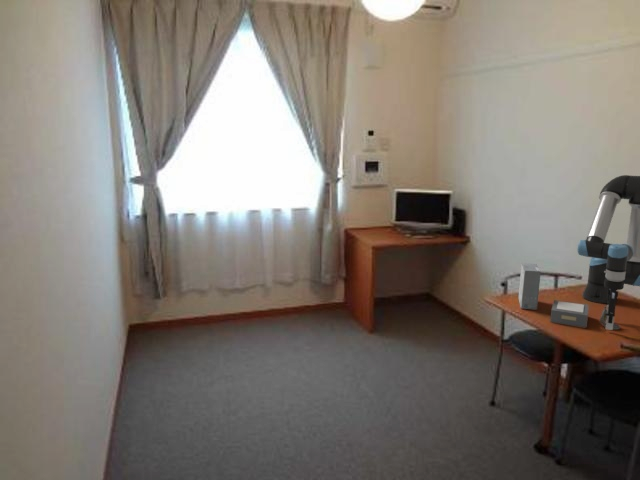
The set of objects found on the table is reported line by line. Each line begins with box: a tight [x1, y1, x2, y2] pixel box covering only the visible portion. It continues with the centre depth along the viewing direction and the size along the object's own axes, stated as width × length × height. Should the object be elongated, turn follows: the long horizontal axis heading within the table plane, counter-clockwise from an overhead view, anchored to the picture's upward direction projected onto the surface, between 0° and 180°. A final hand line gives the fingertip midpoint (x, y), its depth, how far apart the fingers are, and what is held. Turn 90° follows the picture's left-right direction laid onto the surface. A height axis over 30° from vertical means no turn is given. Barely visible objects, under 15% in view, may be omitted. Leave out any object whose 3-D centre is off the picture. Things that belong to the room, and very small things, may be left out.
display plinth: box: [549, 299, 590, 329], centre depth 236 cm, size 15×15×6 cm
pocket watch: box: [600, 304, 621, 331], centre depth 227 cm, size 8×8×10 cm
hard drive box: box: [518, 262, 542, 311], centre depth 255 cm, size 16×8×20 cm, turn 164°
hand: (608, 324), depth 228 cm, fingers open, 13 cm apart
